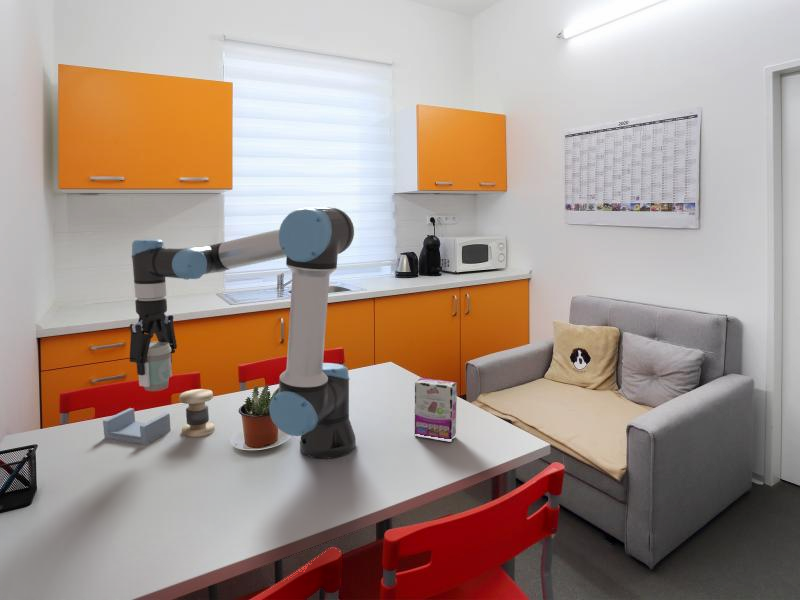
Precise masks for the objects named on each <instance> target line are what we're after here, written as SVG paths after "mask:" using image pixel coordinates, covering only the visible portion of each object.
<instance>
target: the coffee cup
mask: <svg viewBox="0 0 800 600" xmlns="http://www.w3.org/2000/svg"><path fill="white" fill-rule="evenodd" d="M171 351H172V350H171V347H170V345H169V343H167V342H159V341H158V340H157V341H150V345H149V349H148V354H147V358H146V362H148V363H149V379H150V386H149V387H144V390H145V391H148V392H160V391H163V390H165V389H166V390H167V388H168V387H169V378H170V377H169V366H170V352H171ZM141 358H142V357H141Z"/></svg>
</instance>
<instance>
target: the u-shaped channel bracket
mask: <svg viewBox="0 0 800 600" xmlns="http://www.w3.org/2000/svg"><path fill="white" fill-rule="evenodd" d="M170 416H171V415H170V413H168V412H164V413H162V414H159V415H158V416H157V417H154V418H152V419H151V420H149V421H147V422H142V421H136V417H135V408H134V407H133V408H131V407H129V408H127V409H125V410H123V411H120V412H118V413H116V414H114V415H112V416H109V417H107V418H105V419H103V420H102V426H103V427H102V428H103V436H104V439H109V440H112V441H121V442H128V443H133V444H139V445H148V444H150V443H151V442H153V441H155V440H156V439H158V438H160V437H162V436H163V435H165V434H167V433H168V432H170V431H171V417H170Z"/></svg>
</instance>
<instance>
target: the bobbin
mask: <svg viewBox="0 0 800 600" xmlns="http://www.w3.org/2000/svg"><path fill="white" fill-rule="evenodd" d="M178 398H179V402H180V403H182V404H185V405H188V406H187V407H186V408H185V416H186V424H185V425H184V426H183V427H181V435H182V436H183V437H185V438H191V439H192V438H193V439H194V438H196V439H197V438H202V437H205V436H208V435H210V434H213V433H214V432H215V428H216V427H215V423H213V422H211V421H209V419H210V418H209V414H210V413H209V406H208V405H206V402H209V401H211V400H212V399H213V398H214V393H213V391H212V390H211V389H205V388H198V389H197V388H196V389H190V390H186V391H183V392H181V393H180V394H179V397H178Z"/></svg>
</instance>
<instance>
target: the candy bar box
mask: <svg viewBox="0 0 800 600" xmlns="http://www.w3.org/2000/svg"><path fill="white" fill-rule="evenodd" d="M457 384H458V382H455V381H447V380H441V379H433V378H432V379H431V378H423V377H420V378H419V379H418V380H417V381H415V383H414V435H415V434H420V435H424V436H431V437H438V438H444V439H452V438H453V437H454V436H455V434H456V435H457V396H458V395H457V393H458V391H457V389H458V385H457Z"/></svg>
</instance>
